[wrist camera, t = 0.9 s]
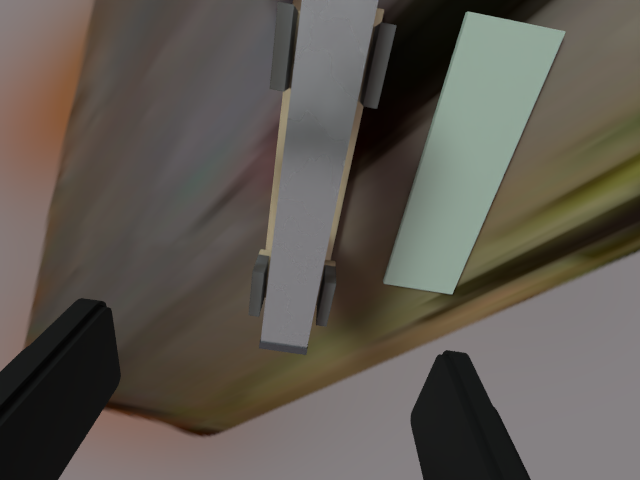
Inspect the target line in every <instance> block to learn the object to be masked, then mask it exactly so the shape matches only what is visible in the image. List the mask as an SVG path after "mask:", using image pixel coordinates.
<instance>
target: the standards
mask: <svg viewBox="0 0 640 480" xmlns="http://www.w3.org/2000/svg"><path fill="white" fill-rule="evenodd" d="M301 2H302V0H293V4H288V3H283V2H278V5H277V16H276V27H275V38H274V48H273V59H272V70H271V80H270V89H273V90H278V91H283V98H282V107H281V116H280V125H279V134H278V143H277V152H276V161H275V170H274V179H273V188H272V197H271V206H270V215H269V224H268V233H267V242H266V250H262V249H261V250H260V253H259V255H258V258H257V261H256V264H255V266H254V269H253V273H252V284H251V294H250V305H249V315H252V316H258V317H259V315H260V311H261V308H262V304H263V300H264V297H265V298H266V294H267V285H268V277H269V269H270V260H271V252H272V244H273V235H274V227H275V219H276V210H277V202H278V194H279V185H280V177H281V169H282V160H283V152H284V144H285V135H286V127H287V119H288V111H289V102H290V94H291V86H292V77H293V69H294V61H295V52H296V44H297V36H298V27H299V19H300V11H301ZM383 14H384V9H379V8H377V10H376V15H375V20H374V24H373V29H372V34H371V39H370V44H369V49H368V54H367V58H366V63H365V68H364V73H363V78H362V83H361V87H360V92H359V97H358V102H357V107H356V112H355V117H354V121H353V126H352V131H351V136H350V141H349V146H348V150H347V155H346V160H345V165H344V170H343V175H342V179H341V184H340V189H339V194H338V199H337V204H336V209H335V213H334V218H333V223H332V228H331V233H330V238H329V242H328V247H327V252H326V257H325V262H324V267H323V272H322V276H321V281H320V286H319V291H318V296H317V301H316V305H317V316H316V325H319V326H327V321H328V317H329V313H330V309H331V304H332V300H333V296H334V291H335V287H336V262H335V261H331V255H332V250H333V246H334V241H335V237H336V232H337V227H338V223H339V218H340V213H341V209H342V204H343V199H344V195H345V190H346V185H347V181H348V176H349V172H350V167H351V162H352V158H353V153H354V148H355V144H356V139H357V134H358V130H359V125H360V120H361V116H362V111H363V106H364V107H370V108H375V109H377V107H378V103H379V99H380V94H381V90H382V86H383V81H384V77H385V73H386V69H387V64H388V60H389V56H390V51H391V47H392V43H393V39H394V34H395V30H396V26H397V25H392V24H387V23H382V18H383Z"/></svg>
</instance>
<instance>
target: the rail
mask: <svg viewBox="0 0 640 480" xmlns="http://www.w3.org/2000/svg"><path fill="white" fill-rule="evenodd" d="M377 5H378V0H302V2H301V11H300V19H299V27H298V36H297V44H296V52H295V61H294V69H293V77H292V86H291V94H290V102H289V111H288V119H287V127H286V135H285V144H284V152H283V160H282V169H281V177H280V185H279V194H278V202H277V210H276V219H275V227H274V235H273V244H272V252H271V260H270V269H269V277H268V285H267V294H266V302H265V310H264V319H263V327H262V335H261V340H260V345H259V348H262V349H269V350H276V351H283V352H290V353H297V354H304V355H306V353H307V346H308V339H309V335H310V330H311V325H312V320H313V315H314V310H315V305H316V301H317V296H318V291H319V286H320V281H321V276H322V272H323V267H324V262H325V257H326V252H327V247H328V242H329V238H330V233H331V228H332V223H333V218H334V213H335V209H336V204H337V199H338V194H339V189H340V184H341V179H342V175H343V170H344V165H345V160H346V155H347V150H348V146H349V141H350V136H351V131H352V126H353V121H354V117H355V112H356V107H357V102H358V97H359V92H360V87H361V83H362V78H363V73H364V68H365V63H366V58H367V54H368V49H369V44H370V39H371V34H372V29H373V24H374V20H375V15H376V10H377Z"/></svg>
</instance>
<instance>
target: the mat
mask: <svg viewBox="0 0 640 480" xmlns="http://www.w3.org/2000/svg"><path fill="white" fill-rule="evenodd" d="M564 35H565V31H560V30H555V29H551V28H546V27H541V26H536V25H531V24H526V23H521V22H517V21H512V20H507V19H502V18H497V17H492V16H487V15H482V14H478V13H473V12H466V13H465V17H464V20H463V23H462V26H461V30H460V33H459V36H458V39H457V43H456V46H455V49H454V52H453V56H452V59H451V62H450V65H449V69H448V72H447V75H446V78H445V81H444V85H443V88H442V91H441V94H440V98H439V101H438V104H437V107H436V111H435V114H434V117H433V120H432V124H431V127H430V130H429V133H428V137H427V140H426V143H425V146H424V150H423V153H422V156H421V159H420V162H419V166H418V169H417V172H416V175H415V179H414V182H413V185H412V188H411V192H410V195H409V198H408V201H407V205H406V208H405V211H404V214H403V218H402V221H401V224H400V227H399V230H398V234H397V237H396V240H395V243H394V247H393V250H392V253H391V256H390V260H389V263H388V266H387V269H386V273H385V276H384V279H383V283H384V284H389V285H395V286H401V287H408V288H414V289H421V290H427V291H433V292H440V293H446V294H453V292H454V289H455V287H456V285H457V282H458V280H459V278H460V275H461V273H462V271H463V268H464V266H465V264H466V262H467V259H468V257H469V255H470V252H471V250H472V248H473V245H474V243H475V241H476V238H477V236H478V234H479V231H480V229H481V227H482V224H483V222H484V220H485V218H486V215H487V213H488V211H489V208H490V206H491V204H492V201H493V199H494V197H495V194H496V192H497V190H498V187H499V185H500V183H501V181H502V178H503V176H504V174H505V171H506V169H507V167H508V164H509V162H510V160H511V157H512V155H513V153H514V150H515V148H516V146H517V144H518V141H519V139H520V137H521V134H522V132H523V130H524V127H525V125H526V123H527V120H528V118H529V116H530V113H531V111H532V109H533V106H534V104H535V102H536V100H537V97H538V95H539V93H540V90H541V88H542V86H543V83H544V81H545V79H546V76H547V74H548V72H549V69H550V67H551V65H552V63H553V60H554V58H555V56H556V53H557V51H558V49H559V46H560V44H561V42H562V39H563V37H564Z"/></svg>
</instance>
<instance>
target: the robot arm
mask: <svg viewBox="0 0 640 480" xmlns="http://www.w3.org/2000/svg"><path fill="white" fill-rule="evenodd" d="M120 377H121V373H120V366H119V359H118V352H117V345H116V338H115V330H114V323H113V316H112V310H111V309H110V308H108V307H107V306H106V303H105V302H103V301H97V300H90V299H83V298H81V299H78V300H77V301H75V302H74V303H73V304H72V305H71V306H70V307H69V308H68V309H67V310H66V311H65V312H64V313H63V314H62V315H61V316H60V317H59V318H58V319H57V320H56V321H55V322H54V323H52V324H51V325H50V326H49V327H48V328H47V329H46V330H45V331H44V332H43V333H42V334H41V335H40V336H39V337H38V338H37V339H36V340H35V341H34V342H33V343H32V344H31V345H30V346H28V347H26V348H25V349H24V350H23V351H21V352H20V353H19V354H18V355H17V356H16V357H15V358H14V359H13V360H12V361H11V362H10V363H9V364H8V365H7V366H6V367H5V368H4V369H3V370H2V371H1V372H0V480H58V479H59V477H60V476H61V474H62V473H63V471H64V469H65V468H66V466H67V465H68V463H69V461H70V460H71V458H72V457H73V455H74V454H75V452H76V451H77V449H78V448H79V446H80V444H81V443H82V441H83V440H84V438H85V437H86V435H87V434H88V432H89V430H90V429H91V427H92V426H93V424H94V423H95V421H96V419H97V418H98V416H99V415H100V413H101V411H102V410H103V409H104V407H105V405H106V404H107V402H108V401H109V399H110V398H111V396H112V394H113V393H114V391H115V390H116V388H117V386H118V384H119V381H120ZM411 427H412V432H413V435H414V440H415V445H416V449H417V453H418V458H419V462H420V466H421V471H422V475H423V479H424V480H531V479H530V477H529V475H528V473H527V471H526V469H525V467H524V465H523V463H522V461H521V459H520V457H519V454H518V452H517V450H516V448H515V446H514V444H513V442H512V440H511V438H510V436H509V434H508V432H507V430H506V428H505V426H504V424H503V422H502V419H501V418H500V416H499V414H498V412H497V410H496V409H495V407H493V405H492V403H491V401H490V399H489V397H488V395H487V393H486V391H485V389H484V387H483V384H482V383H481V380H480V379H479V376H478V374H477V372H476V370H475V368H474V366H473V364H472V362H471V360H470V358H469V356H468V355H467V354H466V353H462V352H455V351H448V350H446V351H444V352H443V354H442V355H438V356H437V357H436V360H435V362H434V364H433V366H432V368H431V371H430V373H429V375H428V377H427V379H426V382H425V384H424V386H423V388H422V391H421V393H420V395H419V397H418V399H417V401H416V404H415V406H414V408H413V411H412V413H411Z"/></svg>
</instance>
